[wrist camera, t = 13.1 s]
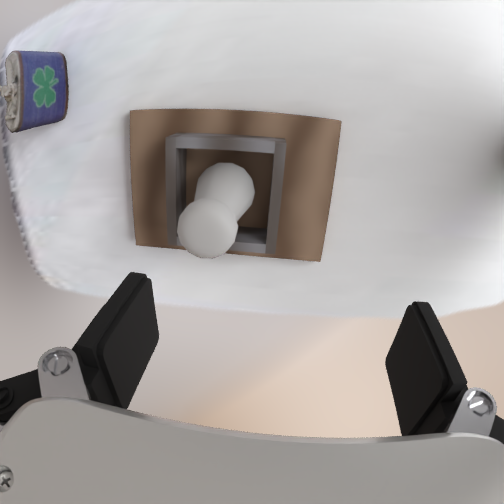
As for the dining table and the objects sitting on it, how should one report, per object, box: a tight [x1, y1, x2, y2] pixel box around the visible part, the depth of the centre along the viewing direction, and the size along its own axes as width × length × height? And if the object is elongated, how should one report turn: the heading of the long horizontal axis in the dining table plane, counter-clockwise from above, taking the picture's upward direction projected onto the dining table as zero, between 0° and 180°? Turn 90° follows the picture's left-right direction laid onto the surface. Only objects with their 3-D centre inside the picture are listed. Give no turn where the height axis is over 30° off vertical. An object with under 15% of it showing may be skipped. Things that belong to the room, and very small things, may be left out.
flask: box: [0, 51, 69, 133], centre depth 25 cm, size 9×3×11 cm, turn 179°
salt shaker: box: [177, 163, 255, 258], centre depth 27 cm, size 6×6×13 cm
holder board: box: [130, 109, 341, 262], centre depth 32 cm, size 22×16×6 cm
